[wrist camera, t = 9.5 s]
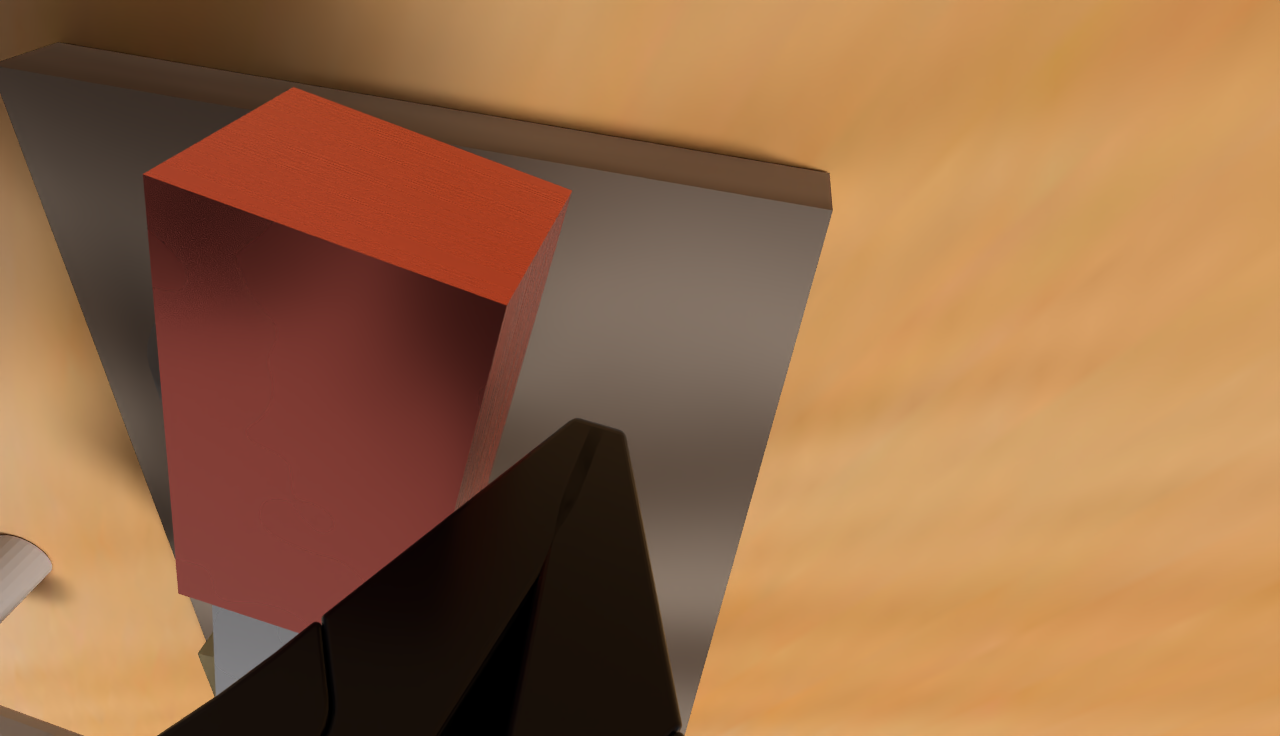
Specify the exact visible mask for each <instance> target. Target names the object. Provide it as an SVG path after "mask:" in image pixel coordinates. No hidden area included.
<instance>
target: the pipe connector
mask: <svg viewBox="0 0 1280 736" xmlns="http://www.w3.org/2000/svg"><path fill="white" fill-rule="evenodd" d="M51 570H52V564H51V561H50V560H49V558H48V557H47V556H46V555H45V553H44V552H43V551H41V550H40V549H39V548H38V547H36V546H35V545H33V544H31V543H30V542H28V541H26V540H23V539H21V538H18V537H15V536H10V535H1V536H0V623H1V622H2V621H3V620H4V619H5V618H6V617H7V616H8V615H9V614H10V613H11V612H12V611H13V610H14V609H15V608H16V607H17V606H18V605H19V604H20V603H21V602H22V600H23V599H24V598H25V597H26V596H27V595H28V594H29V593H30V592H31V591H32V590H33V589H34V588H35V587H36V586H37V585H38V584H39V583H40V582H41V581H42V580H43V579H44V578H45V577H46V576H47V574H48V573H49V572H50V571H51ZM0 736H83V735H80V734H77V733H75V732H72V731H69V730H67V729H64V728H61V727H58V726H56V725H53V724H50V723H47V722H45V721H42V720H39V719H36V718H34V717H31V716H28V715H26V714H23V713H20V712H17V711H15V710H12V709H9V708H6V707H4V706H1V705H0Z"/></svg>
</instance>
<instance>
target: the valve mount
mask: <svg viewBox="0 0 1280 736" xmlns="http://www.w3.org/2000/svg"><path fill="white" fill-rule="evenodd" d="M293 87H295V88H298V89H301V90H303V91H306V92H309V93H311V94H314V95H317V96H319V97H322V98H325V99H327V100H330V101H333V102H336V103H338V104H341V105H344V106H346V107H349V108H352V109H354V110H357V111H360V112H362V113H365V114H368V115H370V116H373V117H376V118H379V119H381V120H384V121H387V122H389V123H392V124H395V125H397V126H400V127H403V128H405V129H408V130H411V131H414V132H416V133H419V134H422V135H424V136H427V137H430V138H432V139H435V140H438V141H440V142H443V143H446V144H449V145H451V146H454V147H457V148H459V149H462V150H465V151H467V152H470V153H473V154H475V155H478V156H481V157H483V158H486V159H489V160H492V161H494V162H497V163H500V164H502V165H505V166H508V167H510V168H513V169H516V170H518V171H521V172H524V173H527V174H529V175H532V176H535V177H537V178H540V179H543V180H545V181H548V182H551V183H553V184H556V185H559V186H562V187H564V188H567V189H570V190H572V193H571V197H570V200H569V204H568V207H567V211H566V214H565V218H564V221H563V225H562V228H561V232H560V235H559V239H558V242H557V246H556V249H555V252H554V256H553V259H552V263H551V266H550V270H549V273H548V277H547V280H546V284H545V287H544V291H543V294H542V298H541V301H540V305H539V308H538V312H537V315H536V319H535V322H534V326H533V329H532V332H531V336H530V339H529V343H528V346H527V350H526V353H525V357H524V360H523V364H522V367H521V371H520V374H519V378H518V381H517V385H516V388H515V392H514V395H513V399H512V402H511V406H510V409H509V413H508V416H507V419H506V423H505V426H504V430H503V433H502V437H501V440H500V444H499V447H498V451H497V454H496V458H495V461H494V465H493V468H492V472H491V475H490V479H489V482H488V485H489V484H490V483H491V482H492V481H494V480H495V479H496V478H497V477H499V476H500V475H501V474H503V473H504V472H505V471H506V470H508V469H509V468H510V467H511V466H513V465H514V464H515V463H516V462H518V461H519V460H520V459H522V458H523V457H524V456H525V455H527V454H528V453H529V452H530V451H532V450H533V449H534V448H536V447H537V446H538V445H539V444H541V443H542V442H543V441H544V440H546V439H547V438H548V437H549V436H551V435H552V434H553V433H555V432H556V431H557V430H558V429H560V428H561V427H562V426H563V425H565V424H566V423H567V422H569V421H570V420H571V419H574V418H582V419H585V420H589V421H592V422H595V423H599V424H602V425H606V426H609V427H613V428H616V429H619V430H622V431H623V432H624V433H625V435H626V438H627V442H628V448H629V453H630V458H631V463H632V468H633V473H634V478H635V484H636V489H637V494H638V499H639V504H640V509H641V515H642V520H643V525H644V530H645V535H646V540H647V545H648V551H649V556H650V561H651V566H652V571H653V576H654V582H655V587H656V592H657V597H658V602H659V607H660V612H661V618H662V623H663V628H664V633H665V638H666V643H667V649H668V654H669V659H670V664H671V669H672V674H673V680H674V685H675V690H676V695H677V700H678V705H679V710H680V716H681V721H682V728H681V730H680V732H681V733H683V734H684V735H685V732H686V728H687V724H688V721H689V717H690V714H691V710H692V707H693V703H694V700H695V696H696V693H697V689H698V685H699V682H700V678H701V675H702V671H703V668H704V664H705V661H706V657H707V654H708V650H709V647H710V643H711V639H712V636H713V632H714V629H715V625H716V622H717V618H718V615H719V611H720V608H721V604H722V600H723V597H724V593H725V590H726V586H727V583H728V579H729V576H730V572H731V569H732V565H733V562H734V558H735V554H736V551H737V547H738V544H739V540H740V537H741V533H742V530H743V526H744V523H745V519H746V515H747V512H748V508H749V505H750V501H751V498H752V494H753V491H754V487H755V484H756V480H757V477H758V473H759V469H760V466H761V462H762V459H763V455H764V452H765V448H766V445H767V441H768V438H769V434H770V431H771V427H772V423H773V420H774V416H775V413H776V409H777V406H778V402H779V399H780V395H781V392H782V388H783V384H784V381H785V377H786V374H787V370H788V367H789V363H790V360H791V356H792V353H793V349H794V346H795V342H796V338H797V335H798V331H799V328H800V324H801V321H802V317H803V314H804V310H805V307H806V303H807V299H808V296H809V292H810V289H811V285H812V282H813V278H814V275H815V271H816V268H817V264H818V261H819V257H820V253H821V250H822V246H823V243H824V239H825V236H826V232H827V229H828V225H829V222H830V218H831V214H832V211H833V209H832V197H831V185H830V173H826V172H820V171H814V170H808V169H802V168H796V167H790V166H784V165H778V164H773V163H767V162H761V161H755V160H749V159H743V158H737V157H731V156H725V155H719V154H714V153H708V152H702V151H696V150H690V149H684V148H678V147H672V146H666V145H660V144H655V143H649V142H643V141H637V140H631V139H625V138H619V137H613V136H607V135H601V134H596V133H590V132H584V131H578V130H572V129H566V128H560V127H554V126H548V125H542V124H537V123H531V122H525V121H519V120H513V119H507V118H501V117H495V116H489V115H484V114H478V113H472V112H466V111H460V110H454V109H448V108H442V107H436V106H430V105H425V104H419V103H413V102H407V101H401V100H395V99H389V98H383V97H377V96H371V95H366V94H360V93H354V92H348V91H342V90H336V89H330V88H324V87H318V86H312V85H307V84H301V83H295V82H289V81H283V80H277V79H271V78H265V77H259V76H253V75H248V74H242V73H236V72H230V71H224V70H218V69H212V68H206V67H200V66H194V65H189V64H183V63H177V62H171V61H165V60H159V59H153V58H147V57H141V56H135V55H130V54H124V53H118V52H112V51H106V50H100V49H94V48H88V47H82V46H76V45H71V44H65V43H59V42H57V43H54V44H51V45H48V46H45V47H42V48H39V49H36V50H33V51H30V52H27V53H24V54H21V55H18V56H15V57H12V58H9V59H6V60H3V61H0V93H1V96H2V99H3V101H4V104H5V107H6V109H7V112H8V115H9V117H10V120H11V123H12V125H13V128H14V131H15V133H16V136H17V139H18V141H19V144H20V147H21V149H22V152H23V155H24V157H25V160H26V163H27V165H28V168H29V171H30V173H31V176H32V179H33V181H34V184H35V187H36V189H37V192H38V195H39V197H40V200H41V203H42V205H43V208H44V210H45V213H46V216H47V218H48V221H49V224H50V226H51V229H52V232H53V234H54V237H55V240H56V242H57V245H58V248H59V250H60V253H61V256H62V258H63V261H64V264H65V266H66V269H67V272H68V274H69V277H70V280H71V282H72V285H73V288H74V290H75V293H76V296H77V298H78V301H79V304H80V306H81V309H82V312H83V314H84V317H85V320H86V322H87V325H88V328H89V330H90V333H91V336H92V338H93V341H94V344H95V346H96V349H97V352H98V354H99V357H100V360H101V362H102V365H103V368H104V370H105V373H106V376H107V378H108V381H109V384H110V386H111V389H112V392H113V394H114V397H115V400H116V402H117V405H118V408H119V410H120V413H121V415H122V418H123V421H124V423H125V426H126V429H127V431H128V434H129V437H130V439H131V442H132V445H133V447H134V450H135V453H136V455H137V458H138V461H139V463H140V466H141V469H142V471H143V474H144V477H145V479H146V482H147V485H148V487H149V490H150V493H151V495H152V498H153V501H154V503H155V506H156V509H157V511H158V514H159V517H160V519H161V522H162V525H163V527H164V530H165V533H166V535H167V538H168V541H169V543H170V546H171V549H172V551H173V554H174V557H175V546H174V535H173V523H172V511H171V499H170V488H169V476H168V464H167V453H166V441H165V429H164V417H163V406H162V394H161V382H160V371H159V359H158V347H157V335H156V324H155V312H154V300H153V289H152V277H151V265H150V253H149V242H148V230H147V218H146V207H145V195H144V183H143V174H144V173H146V172H147V171H149V170H151V169H152V168H154V167H156V166H158V165H159V164H161V163H163V162H165V161H166V160H168V159H170V158H171V157H173V156H175V155H177V154H178V153H180V152H182V151H184V150H185V149H187V148H189V147H191V146H192V145H194V144H196V143H197V142H199V141H201V140H203V139H204V138H206V137H208V136H210V135H211V134H213V133H215V132H216V131H218V130H220V129H222V128H223V127H225V126H227V125H229V124H230V123H232V122H234V121H235V120H237V119H239V118H241V117H242V116H244V115H246V114H248V113H249V112H251V111H253V110H255V109H256V108H258V107H260V106H261V105H263V104H265V103H267V102H268V101H270V100H272V99H274V98H275V97H277V96H279V95H280V94H282V93H284V92H286V91H287V90H289V89H291V88H293ZM175 559H176V558H175ZM190 599H191V602H192V605H193V607H194V610H195V613H196V615H197V618H198V620H199V623H200V626H201V628H202V631H203V634H204V636H205V639H206V642H205V644H204V645H203V647H202V648H201V650H200V651H199V653H198V655H199V658H200V661H201V663H202V666H203V668H204V671H205V673H206V676H207V678H208V681H209V683H210V686H211V688H212V691H213V694H214V696H215V697H216V689H215V664H214V640H213V616H212V604H209V603H206V602H203V601H200V600H197V599H194V598H191V597H190Z"/></svg>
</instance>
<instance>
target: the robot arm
mask: <svg viewBox="0 0 1280 736" xmlns="http://www.w3.org/2000/svg"><path fill="white" fill-rule="evenodd" d="M321 624H322V625H321ZM681 728H682V721H681V716H680V710H679V705H678V700H677V695H676V690H675V685H674V680H673V674H672V669H671V664H670V659H669V654H668V649H667V643H666V638H665V633H664V628H663V623H662V618H661V612H660V607H659V602H658V597H657V592H656V587H655V582H654V576H653V571H652V566H651V561H650V556H649V551H648V545H647V540H646V535H645V530H644V525H643V520H642V515H641V509H640V504H639V499H638V494H637V489H636V484H635V478H634V473H633V468H632V463H631V458H630V453H629V448H628V442H627V438H626V435H625V433H624V432H623V431H622V430H619V429H616V428H613V427H609V426H606V425H602V424H599V423H595V422H592V421H589V420H585V419H582V418H574V419H571V420H570V421H569V422H567V423H566V424H565V425H563V426H562V427H561V428H560V429H558V430H557V431H556V432H555V433H553V434H552V435H551V436H549V437H548V438H547V439H546V440H544V441H543V442H542V443H541V444H539V445H538V446H537V447H536V448H534V449H533V450H532V451H530V452H529V453H528V454H527V455H525V456H524V457H523V458H522V459H520V460H519V461H518V462H516V463H515V464H514V465H513V466H511V467H510V468H509V469H508V470H506V471H505V472H504V473H503V474H501V475H500V476H499V477H497V478H496V479H495V480H494V481H492V482H491V483H490V484H489V485H487V486H486V487H485V488H483V489H482V490H481V491H480V492H478V493H477V494H476V495H475V496H473V497H472V498H471V499H470V500H468V501H467V502H466V503H464V504H463V505H462V506H461V507H459V508H458V509H457V510H456V511H454V512H453V513H452V514H450V515H449V516H448V517H447V518H445V519H444V520H443V521H442V522H440V523H439V524H438V525H436V526H435V527H434V528H433V529H431V530H430V531H429V532H428V533H426V534H425V535H424V536H423V537H421V538H420V539H419V540H417V541H416V542H415V543H414V544H412V545H411V546H410V547H409V548H407V549H406V550H405V551H403V552H402V553H401V554H400V555H398V556H397V557H396V558H395V559H393V560H392V561H391V562H390V563H388V564H387V565H386V566H384V567H383V568H382V569H381V570H379V571H378V572H377V573H376V574H374V575H373V576H372V577H370V578H369V579H368V580H367V581H365V582H364V583H363V584H362V585H360V586H359V587H358V588H357V589H355V590H354V591H353V592H351V593H350V594H349V595H348V596H346V597H345V598H344V599H343V600H341V601H340V602H339V603H337V604H336V605H335V606H334V607H332V608H331V609H330V610H329V611H327V612H326V613H325V614H324V615H323V616H322V618H321V623H319V622H313V623H311V624H310V625H309V626H308V627H306V628H305V629H304V630H303V631H301V632H300V633H299V634H298V635H296V636H295V637H294V638H292V639H291V640H290V641H289V642H287V643H286V644H285V645H284V646H282V647H281V648H280V649H279V650H277V651H276V652H275V653H273V654H272V655H271V656H269V657H268V658H267V659H265V660H264V661H263V662H261V663H260V664H259V665H257V666H256V667H255V668H253V669H252V670H251V671H249V672H248V673H247V674H245V675H244V676H243V677H241V678H240V679H238V680H237V681H236V682H234V683H233V684H232V685H230V686H229V687H228V688H226V689H225V690H224V691H222V692H221V693H220V694H218V695H217V696H216V697H214V698H213V699H211V700H210V701H208V702H207V703H205V704H204V705H202V706H201V707H199V708H198V709H196V710H195V711H193V712H192V713H190V714H189V715H187V716H186V717H184V718H183V719H181V720H180V721H178V722H177V723H175V724H174V725H172V726H171V727H169V728H168V729H166V730H165V731H163V732H162V733H160V734H159V735H157V736H684V734H683V733H681V732H680V730H681Z"/></svg>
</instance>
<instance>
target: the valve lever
mask: <svg viewBox="0 0 1280 736" xmlns="http://www.w3.org/2000/svg"><path fill="white" fill-rule="evenodd" d="M143 183H144V195H145V207H146V218H147V230H148V242H149V253H150V265H151V277H152V289H153V300H154V312H155V324H156V335H157V347H158V359H159V371H160V382H161V394H162V406H163V417H164V429H165V441H166V453H167V464H168V476H169V488H170V499H171V511H172V523H173V535H174V546H175V558H176V570H177V581H178V593H179V594H182V595H185V596H188V597H191V598H194V599H197V600H200V601H203V602H206V603H209V604H212V616H213V640H214V664H215V689H216V696H217V695H218V694H220V693H221V692H222V691H224V690H225V689H226V688H228V687H229V686H230V685H232V684H233V683H234V682H236V681H237V680H238V679H240V678H241V677H243V676H244V675H245V674H247V673H248V672H249V671H251V670H252V669H253V668H255V667H256V666H257V665H259V664H260V663H261V662H263V661H264V660H265V659H267V658H268V657H269V656H271V655H272V654H273V653H275V652H276V651H277V650H279V649H280V648H281V647H282V646H284V645H285V644H286V643H287V642H289V641H290V640H291V639H292V638H294V637H295V636H296V635H298V634H299V633H300V632H301V631H303V630H304V629H305V628H306V627H308V626H309V625H310V624H311V623H313V622H319V623H321V618H322V616H323V615H324V614H325V613H326V612H327V611H329V610H330V609H331V608H332V607H334V606H335V605H336V604H337V603H339V602H340V601H341V600H343V599H344V598H345V597H346V596H348V595H349V594H350V593H351V592H353V591H354V590H355V589H357V588H358V587H359V586H360V585H362V584H363V583H364V582H365V581H367V580H368V579H369V578H370V577H372V576H373V575H374V574H376V573H377V572H378V571H379V570H381V569H382V568H383V567H384V566H386V565H387V564H388V563H390V562H391V561H392V560H393V559H395V558H396V557H397V556H398V555H400V554H401V553H402V552H403V551H405V550H406V549H407V548H409V547H410V546H411V545H412V544H414V543H415V542H416V541H417V540H419V539H420V538H421V537H423V536H424V535H425V534H426V533H428V532H429V531H430V530H431V529H433V528H434V527H435V526H436V525H438V524H439V523H440V522H442V521H443V520H444V519H445V518H447V517H448V516H449V515H450V514H452V513H453V512H454V511H456V510H457V509H458V508H459V507H461V506H462V505H463V504H464V503H466V502H467V501H468V500H470V499H471V498H472V497H473V496H475V495H476V494H477V493H478V492H480V491H481V490H482V489H483V488H485V487H486V486H487V485H488V482H489V479H490V475H491V472H492V468H493V465H494V461H495V458H496V454H497V451H498V447H499V444H500V440H501V437H502V433H503V430H504V426H505V423H506V419H507V416H508V413H509V409H510V406H511V402H512V399H513V395H514V392H515V388H516V385H517V381H518V378H519V374H520V371H521V367H522V364H523V360H524V357H525V353H526V350H527V346H528V343H529V339H530V336H531V332H532V329H533V326H534V322H535V319H536V315H537V312H538V308H539V305H540V301H541V298H542V294H543V291H544V287H545V284H546V280H547V277H548V273H549V270H550V266H551V263H552V259H553V256H554V252H555V249H556V246H557V242H558V239H559V235H560V232H561V228H562V225H563V221H564V218H565V214H566V211H567V207H568V204H569V200H570V197H571V193H572V190H570V189H567V188H564V187H562V186H559V185H556V184H553V183H551V182H548V181H545V180H543V179H540V178H537V177H535V176H532V175H529V174H527V173H524V172H521V171H518V170H516V169H513V168H510V167H508V166H505V165H502V164H500V163H497V162H494V161H492V160H489V159H486V158H483V157H481V156H478V155H475V154H473V153H470V152H467V151H465V150H462V149H459V148H457V147H454V146H451V145H449V144H446V143H443V142H440V141H438V140H435V139H432V138H430V137H427V136H424V135H422V134H419V133H416V132H414V131H411V130H408V129H405V128H403V127H400V126H397V125H395V124H392V123H389V122H387V121H384V120H381V119H379V118H376V117H373V116H370V115H368V114H365V113H362V112H360V111H357V110H354V109H352V108H349V107H346V106H344V105H341V104H338V103H336V102H333V101H330V100H327V99H325V98H322V97H319V96H317V95H314V94H311V93H309V92H306V91H303V90H301V89H298V88H295V87H293V88H291V89H289V90H287V91H286V92H284V93H282V94H280V95H279V96H277V97H275V98H274V99H272V100H270V101H268V102H267V103H265V104H263V105H261V106H260V107H258V108H256V109H255V110H253V111H251V112H249V113H248V114H246V115H244V116H242V117H241V118H239V119H237V120H235V121H234V122H232V123H230V124H229V125H227V126H225V127H223V128H222V129H220V130H218V131H216V132H215V133H213V134H211V135H210V136H208V137H206V138H204V139H203V140H201V141H199V142H197V143H196V144H194V145H192V146H191V147H189V148H187V149H185V150H184V151H182V152H180V153H178V154H177V155H175V156H173V157H171V158H170V159H168V160H166V161H165V162H163V163H161V164H159V165H158V166H156V167H154V168H152V169H151V170H149V171H147V172H146V173H144V174H143ZM321 625H322V624H321Z"/></svg>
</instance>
